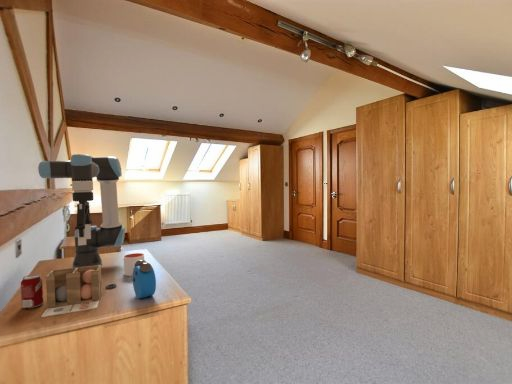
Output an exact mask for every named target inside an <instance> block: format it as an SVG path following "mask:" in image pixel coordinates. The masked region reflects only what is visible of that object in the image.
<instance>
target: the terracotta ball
mask: <svg viewBox="0 0 512 384" xmlns="http://www.w3.org/2000/svg"><path fill="white" fill-rule="evenodd" d="M80 289H81V298H82V299H90V298H92V285H91V284H86V285H83V286H82V287H81V288H80Z"/></svg>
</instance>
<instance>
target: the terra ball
mask: <svg viewBox="0 0 512 384" xmlns="http://www.w3.org/2000/svg"><path fill="white" fill-rule="evenodd" d="M91 271H94V270H92V269H91V270H87V271H86V272H85V273H84V274H83V276H82V280H83V282H84V283H86V284H91Z"/></svg>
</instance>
